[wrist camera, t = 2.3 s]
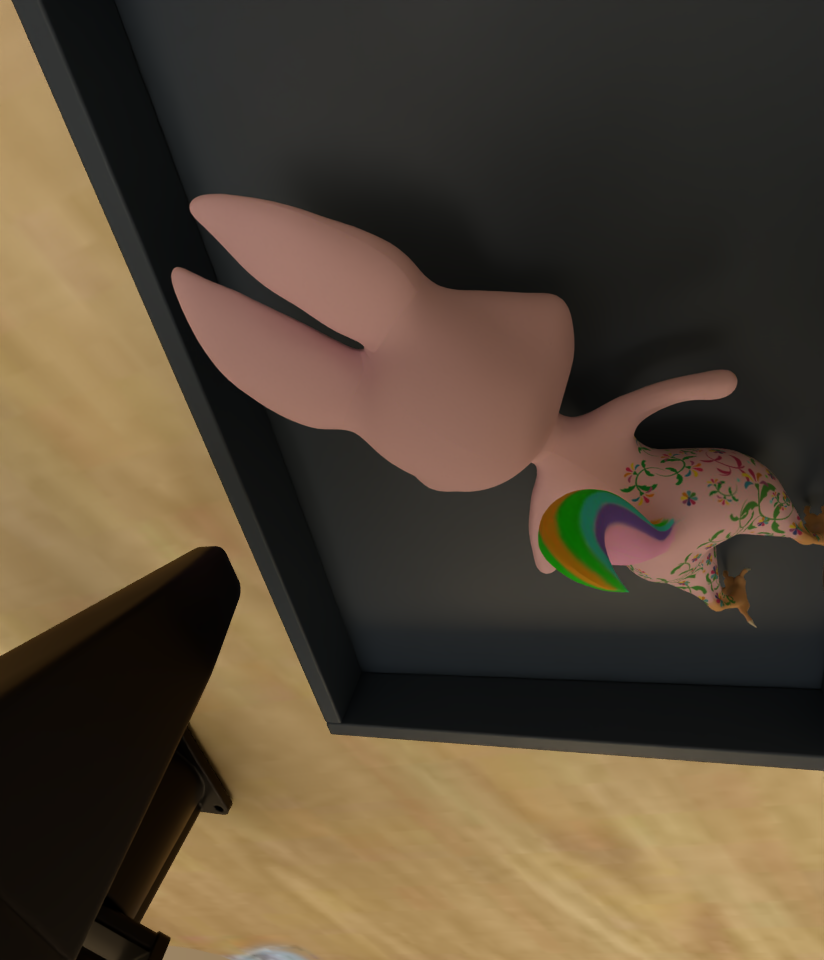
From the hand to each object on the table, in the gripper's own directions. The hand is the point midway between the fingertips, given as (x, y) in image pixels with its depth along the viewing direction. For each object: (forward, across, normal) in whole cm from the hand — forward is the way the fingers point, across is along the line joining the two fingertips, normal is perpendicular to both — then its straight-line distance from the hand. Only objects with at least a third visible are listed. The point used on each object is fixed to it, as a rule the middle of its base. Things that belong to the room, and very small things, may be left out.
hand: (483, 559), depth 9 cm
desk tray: (+7, 0, 0) cm, 7 cm away
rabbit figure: (+7, 0, 0) cm, 7 cm away
